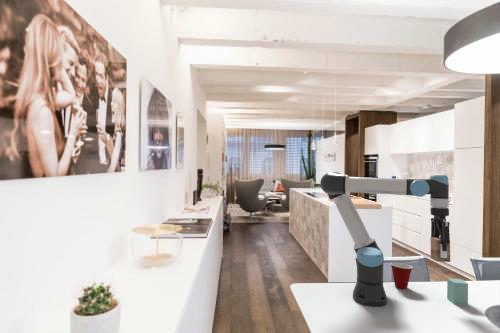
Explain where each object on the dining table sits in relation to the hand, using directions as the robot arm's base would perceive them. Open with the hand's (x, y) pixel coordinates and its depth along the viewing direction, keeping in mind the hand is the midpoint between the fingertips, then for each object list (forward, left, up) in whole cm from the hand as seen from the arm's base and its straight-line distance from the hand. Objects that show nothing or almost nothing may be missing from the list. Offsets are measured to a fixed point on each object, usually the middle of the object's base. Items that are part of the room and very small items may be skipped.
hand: (440, 255), depth 144 cm
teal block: (+8, 0, -21) cm, 23 cm away
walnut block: (0, 0, -2) cm, 2 cm away
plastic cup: (-12, +15, -22) cm, 29 cm away
